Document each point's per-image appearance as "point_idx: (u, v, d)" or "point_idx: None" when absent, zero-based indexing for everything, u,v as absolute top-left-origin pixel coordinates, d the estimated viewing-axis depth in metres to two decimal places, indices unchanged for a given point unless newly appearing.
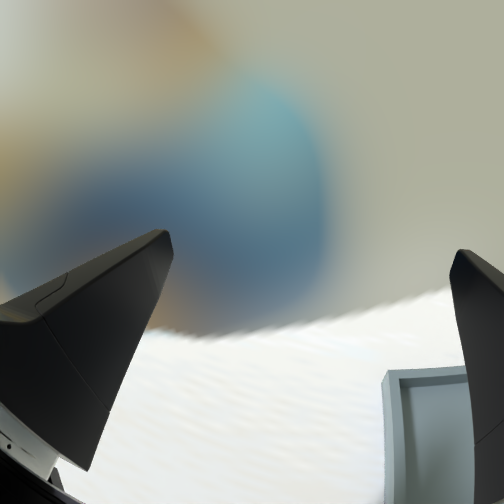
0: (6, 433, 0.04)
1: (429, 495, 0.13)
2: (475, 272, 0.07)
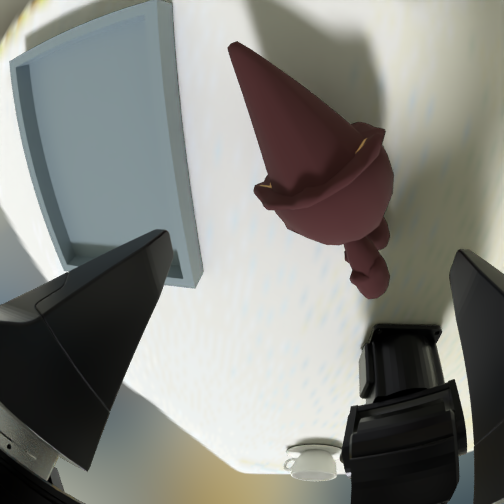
0: (6, 433, 0.04)
1: None
2: (475, 272, 0.07)
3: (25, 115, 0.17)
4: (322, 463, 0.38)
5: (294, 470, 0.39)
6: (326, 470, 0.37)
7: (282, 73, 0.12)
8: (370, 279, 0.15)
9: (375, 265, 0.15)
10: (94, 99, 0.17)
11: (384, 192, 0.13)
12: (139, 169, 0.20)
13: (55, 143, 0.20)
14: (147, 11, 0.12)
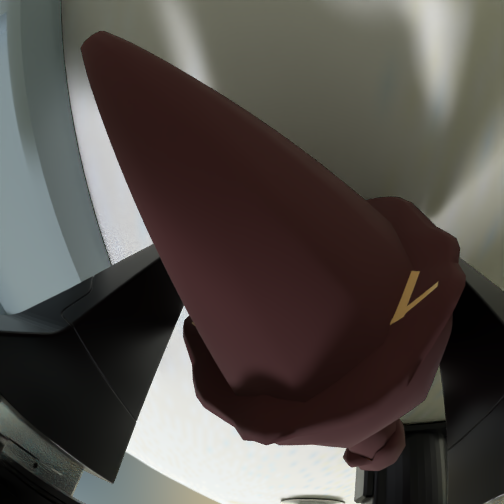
0: (31, 451, 0.04)
1: None
2: None
3: None
4: None
5: None
6: None
7: (206, 101, 0.04)
8: (374, 462, 0.08)
9: (386, 447, 0.08)
10: None
11: (432, 380, 0.05)
12: (46, 246, 0.12)
13: None
14: (10, 5, 0.05)
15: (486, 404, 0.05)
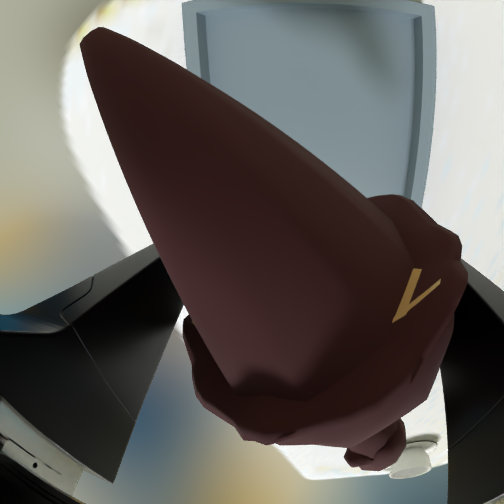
0: (31, 451, 0.04)
1: None
2: None
3: None
4: (422, 459, 0.35)
5: (396, 469, 0.36)
6: (426, 464, 0.34)
7: (205, 96, 0.04)
8: (375, 462, 0.08)
9: (387, 447, 0.08)
10: (323, 82, 0.15)
11: (434, 379, 0.05)
12: (367, 174, 0.18)
13: None
14: (424, 14, 0.10)
15: (486, 404, 0.05)
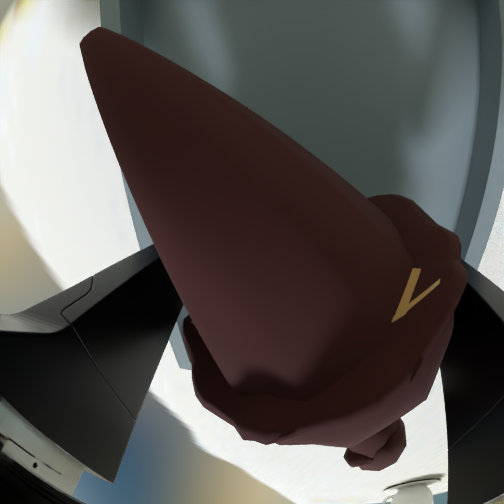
0: (31, 451, 0.04)
1: None
2: None
3: None
4: (424, 497, 0.29)
5: None
6: (429, 503, 0.28)
7: (205, 96, 0.04)
8: (375, 461, 0.08)
9: (387, 447, 0.08)
10: (335, 86, 0.09)
11: (434, 379, 0.05)
12: None
13: None
14: None
15: (486, 404, 0.04)
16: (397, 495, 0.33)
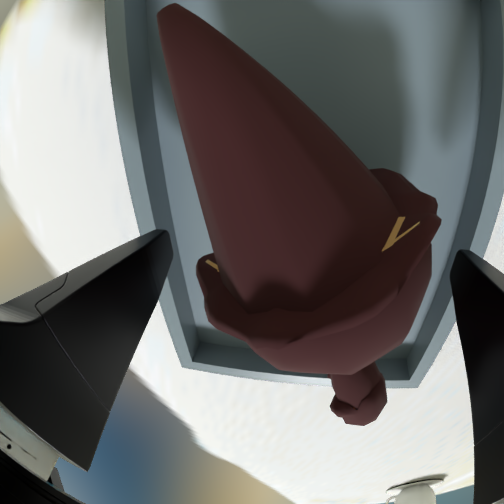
0: (6, 433, 0.04)
1: None
2: (475, 272, 0.07)
3: (136, 87, 0.09)
4: (427, 497, 0.29)
5: None
6: (431, 503, 0.28)
7: (256, 68, 0.06)
8: (359, 411, 0.09)
9: (370, 396, 0.09)
10: (338, 87, 0.09)
11: (415, 316, 0.07)
12: None
13: None
14: None
15: None
16: (400, 495, 0.33)
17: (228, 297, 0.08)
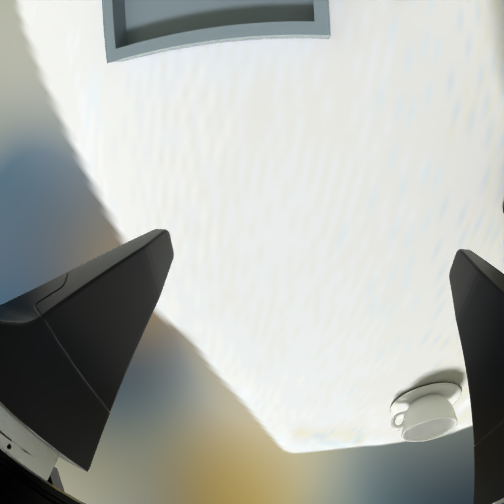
0: (6, 433, 0.04)
1: None
2: (475, 272, 0.07)
3: None
4: (445, 408, 0.28)
5: (412, 423, 0.28)
6: (451, 415, 0.27)
7: None
8: None
9: None
10: None
11: None
12: None
13: None
14: None
15: None
16: (409, 409, 0.31)
17: None
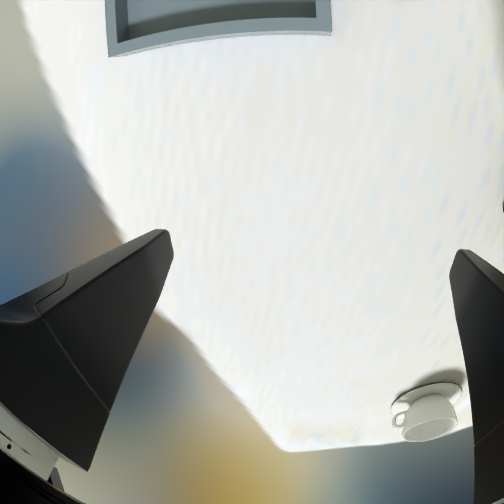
0: (6, 433, 0.04)
1: None
2: (475, 272, 0.07)
3: None
4: (446, 408, 0.28)
5: (413, 423, 0.28)
6: (452, 416, 0.27)
7: None
8: None
9: None
10: None
11: None
12: None
13: None
14: None
15: None
16: (410, 409, 0.31)
17: None
